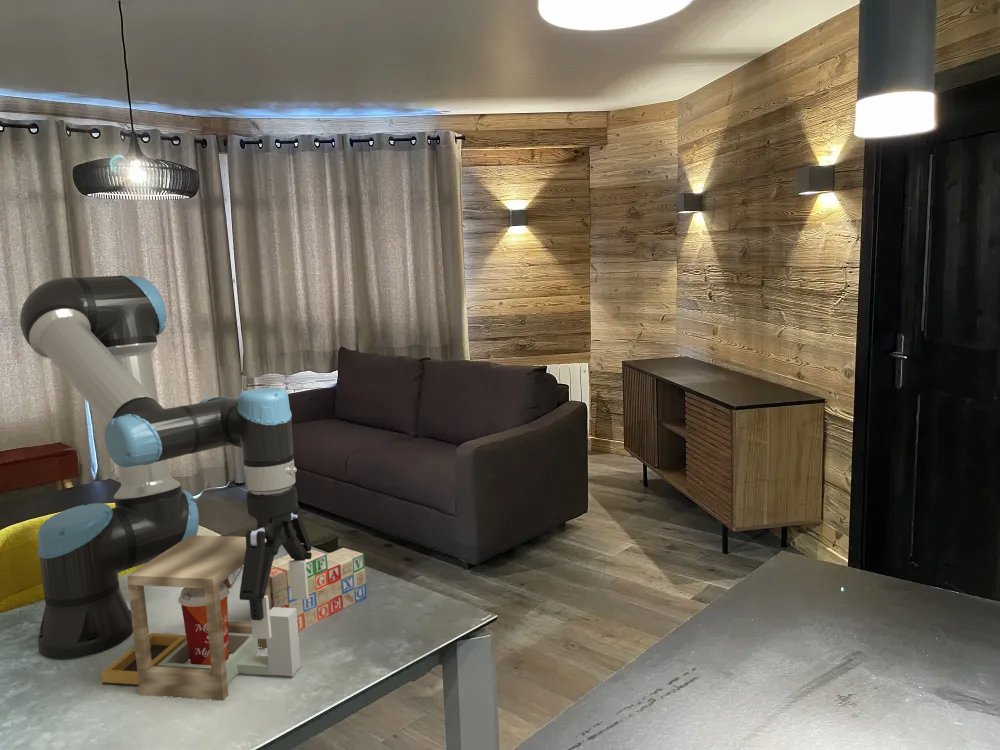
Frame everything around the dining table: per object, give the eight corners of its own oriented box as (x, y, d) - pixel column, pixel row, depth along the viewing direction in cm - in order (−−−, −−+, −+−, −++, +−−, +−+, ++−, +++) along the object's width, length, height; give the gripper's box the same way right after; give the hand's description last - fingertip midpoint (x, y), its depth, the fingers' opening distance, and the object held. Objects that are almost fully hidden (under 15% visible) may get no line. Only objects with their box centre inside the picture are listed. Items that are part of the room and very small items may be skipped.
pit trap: (102, 684, 118) (100, 672, 118) (152, 643, 131) (151, 633, 131) (142, 687, 117) (140, 675, 117) (188, 645, 130) (187, 635, 130)
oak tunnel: (139, 694, 115) (127, 575, 112) (200, 640, 132) (190, 535, 129) (223, 700, 113) (212, 579, 110) (274, 644, 129) (266, 537, 127)
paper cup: (205, 686, 117) (197, 602, 115) (175, 673, 121) (167, 592, 119) (245, 663, 124) (239, 583, 122) (216, 651, 128) (209, 574, 126)
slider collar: (159, 682, 118) (153, 622, 116) (198, 647, 129) (193, 591, 127) (281, 690, 114) (276, 629, 113) (310, 653, 125) (306, 597, 124)
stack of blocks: (346, 590, 151) (343, 532, 149) (367, 598, 147) (364, 538, 145) (255, 632, 134) (250, 568, 133) (276, 642, 130) (271, 576, 129)
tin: (232, 566, 165) (229, 529, 164) (247, 565, 166) (244, 528, 164) (214, 595, 150) (211, 555, 149) (230, 594, 151) (227, 554, 149)
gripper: (255, 513, 103) (268, 657, 106) (325, 467, 127) (334, 584, 130) (205, 513, 104) (219, 655, 107) (284, 466, 129) (293, 583, 131)
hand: (282, 616), depth 119 cm, fingers open, 13 cm apart
